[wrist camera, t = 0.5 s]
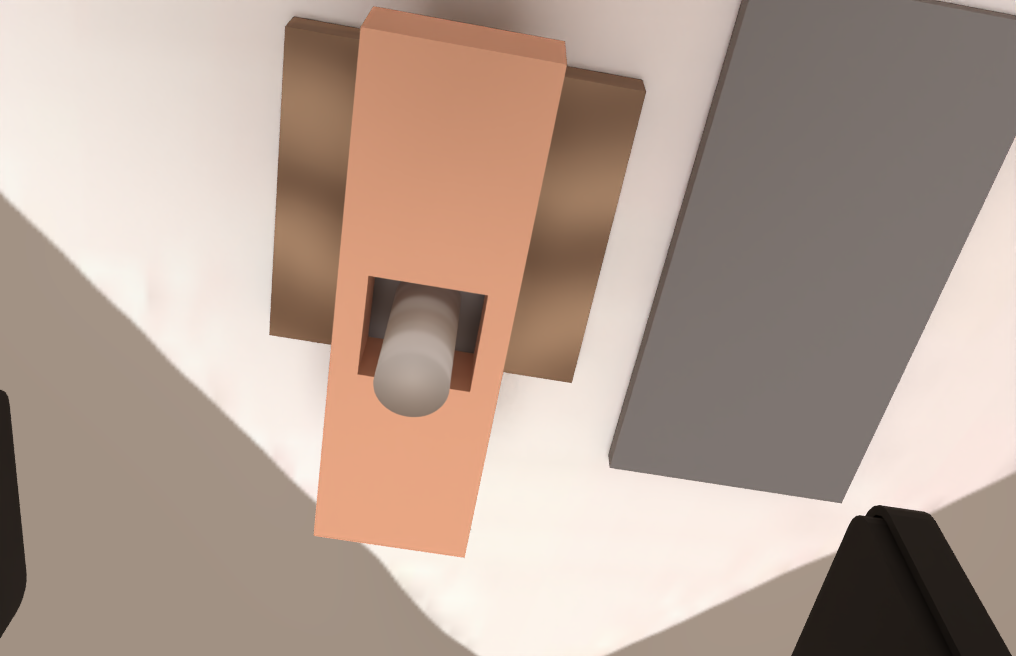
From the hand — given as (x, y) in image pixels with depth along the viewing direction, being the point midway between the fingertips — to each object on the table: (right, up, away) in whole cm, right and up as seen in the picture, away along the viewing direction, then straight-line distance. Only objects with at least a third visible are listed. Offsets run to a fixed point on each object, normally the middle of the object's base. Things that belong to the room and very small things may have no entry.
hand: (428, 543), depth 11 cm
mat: (+14, +5, +32) cm, 35 cm away
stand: (-2, +8, +31) cm, 32 cm away
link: (-2, +3, +24) cm, 24 cm away
